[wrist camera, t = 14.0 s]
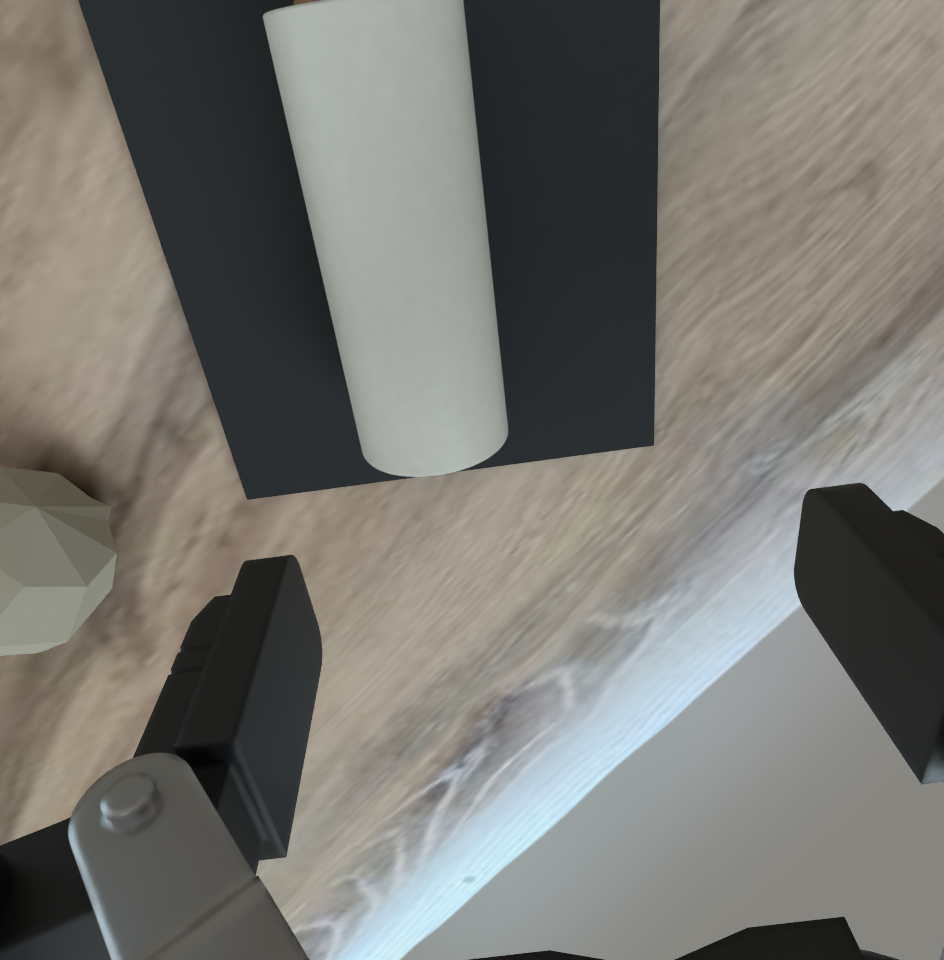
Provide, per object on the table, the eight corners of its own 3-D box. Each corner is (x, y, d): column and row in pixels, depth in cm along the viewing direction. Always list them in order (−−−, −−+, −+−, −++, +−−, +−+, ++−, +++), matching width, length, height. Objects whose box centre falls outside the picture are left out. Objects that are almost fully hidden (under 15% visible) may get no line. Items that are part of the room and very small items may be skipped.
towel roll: (464, -17, 22) (456, -31, 17) (507, 404, 30) (510, 475, 25) (288, 9, 23) (233, 2, 18) (374, 417, 30) (352, 489, 25)
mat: (650, 439, 32) (654, 445, 31) (249, 492, 32) (247, 500, 32) (656, -147, 21) (662, -151, 21) (64, -62, 22) (55, -65, 21)
